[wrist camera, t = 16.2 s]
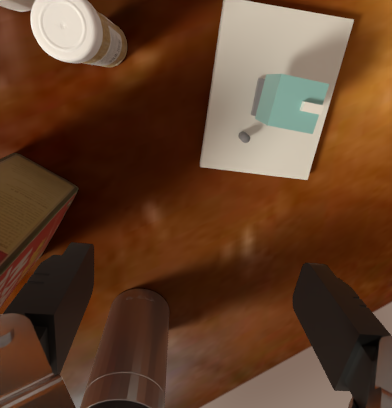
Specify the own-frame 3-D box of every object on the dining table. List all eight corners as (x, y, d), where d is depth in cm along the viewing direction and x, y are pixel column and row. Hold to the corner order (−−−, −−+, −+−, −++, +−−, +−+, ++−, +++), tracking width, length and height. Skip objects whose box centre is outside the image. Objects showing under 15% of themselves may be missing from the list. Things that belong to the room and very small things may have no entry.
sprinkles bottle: (106, 11, 32) (58, -33, 19) (136, 48, 33) (110, 30, 21) (77, 42, 33) (13, 20, 20) (108, 77, 34) (66, 76, 22)
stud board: (303, 176, 40) (317, 188, 35) (199, 163, 38) (202, 174, 34) (346, 22, 33) (371, 13, 29) (223, 0, 32) (229, -12, 27)
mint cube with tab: (254, 118, 32) (269, 126, 27) (266, 74, 30) (283, 73, 25) (293, 126, 32) (315, 135, 27) (307, 83, 31) (332, 84, 25)
